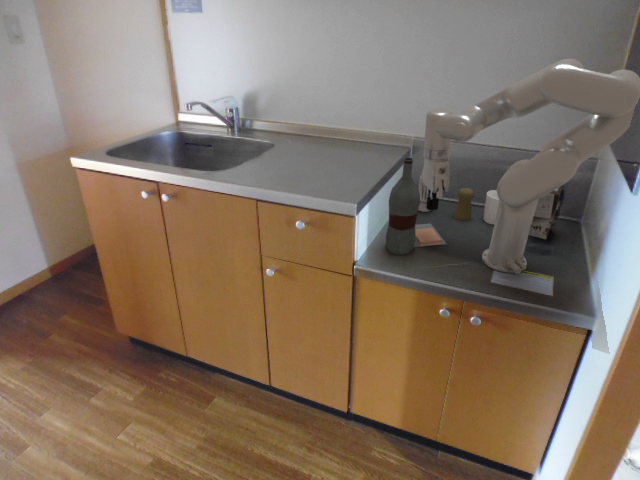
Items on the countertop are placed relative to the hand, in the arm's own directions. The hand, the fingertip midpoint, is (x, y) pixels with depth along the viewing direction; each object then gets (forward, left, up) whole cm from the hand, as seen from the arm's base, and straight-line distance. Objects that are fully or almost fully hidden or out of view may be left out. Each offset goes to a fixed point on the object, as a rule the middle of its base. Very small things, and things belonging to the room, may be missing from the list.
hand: (432, 209), depth 139 cm
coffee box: (-1, -39, -12) cm, 40 cm away
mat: (+3, +1, -11) cm, 12 cm away
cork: (+13, -18, -12) cm, 25 cm away
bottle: (-4, +11, -12) cm, 16 cm away
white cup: (+9, -28, -12) cm, 31 cm away
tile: (+4, +1, -10) cm, 11 cm away
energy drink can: (+21, -7, -12) cm, 25 cm away
